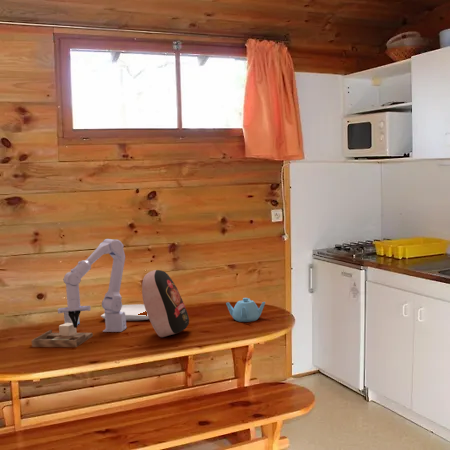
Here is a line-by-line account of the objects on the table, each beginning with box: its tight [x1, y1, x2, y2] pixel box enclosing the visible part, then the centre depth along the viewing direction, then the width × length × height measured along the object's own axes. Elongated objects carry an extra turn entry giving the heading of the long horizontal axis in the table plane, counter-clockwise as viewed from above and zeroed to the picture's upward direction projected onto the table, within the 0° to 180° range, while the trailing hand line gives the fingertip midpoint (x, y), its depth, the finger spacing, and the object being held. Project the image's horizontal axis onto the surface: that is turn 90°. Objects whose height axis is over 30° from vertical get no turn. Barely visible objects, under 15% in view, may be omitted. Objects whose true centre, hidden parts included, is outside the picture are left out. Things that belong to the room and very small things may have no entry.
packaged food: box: [141, 269, 190, 338], centre depth 268 cm, size 22×20×30 cm
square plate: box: [100, 303, 149, 321], centre depth 311 cm, size 27×27×4 cm
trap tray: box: [31, 329, 94, 348], centre depth 265 cm, size 21×18×3 cm
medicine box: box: [63, 312, 80, 326], centre depth 294 cm, size 8×4×9 cm, turn 168°
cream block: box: [58, 322, 78, 336], centre depth 271 cm, size 6×6×4 cm
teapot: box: [225, 297, 266, 323], centre depth 291 cm, size 15×15×11 cm
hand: (75, 327), depth 269 cm, fingers closed
